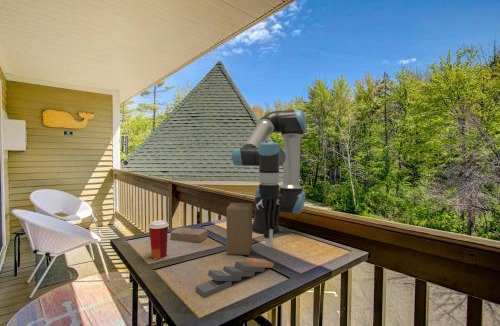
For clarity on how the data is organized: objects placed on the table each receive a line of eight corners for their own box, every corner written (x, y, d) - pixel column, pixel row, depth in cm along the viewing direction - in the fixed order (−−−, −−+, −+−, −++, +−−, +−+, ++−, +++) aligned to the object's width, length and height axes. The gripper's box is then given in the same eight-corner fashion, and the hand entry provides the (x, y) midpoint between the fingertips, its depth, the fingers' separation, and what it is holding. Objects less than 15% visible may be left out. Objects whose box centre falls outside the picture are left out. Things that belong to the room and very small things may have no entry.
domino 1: (233, 270, 90) (209, 269, 84) (241, 276, 86) (217, 275, 80) (231, 275, 90) (207, 275, 84) (240, 281, 86) (216, 281, 80)
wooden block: (252, 247, 117) (252, 202, 116) (250, 256, 107) (250, 207, 106) (230, 246, 118) (230, 202, 117) (226, 255, 108) (226, 207, 107)
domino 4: (255, 262, 96) (235, 261, 90) (265, 267, 93) (245, 266, 86) (254, 267, 96) (234, 266, 90) (263, 272, 93) (244, 271, 86)
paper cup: (167, 251, 111) (166, 219, 111) (170, 258, 105) (170, 223, 104) (147, 254, 108) (147, 221, 107) (149, 261, 101) (149, 226, 100)
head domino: (272, 267, 96) (254, 266, 89) (263, 263, 100) (244, 262, 93) (274, 263, 96) (255, 261, 90) (264, 259, 100) (246, 257, 93)
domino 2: (222, 275, 87) (195, 285, 80) (231, 281, 83) (204, 292, 76) (222, 280, 87) (195, 291, 80) (231, 286, 83) (204, 297, 76)
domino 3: (245, 266, 93) (223, 266, 87) (255, 271, 90) (233, 271, 83) (244, 271, 93) (222, 271, 87) (253, 276, 89) (231, 276, 83)
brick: (169, 240, 126) (169, 230, 126) (178, 234, 134) (178, 226, 134) (200, 244, 122) (200, 234, 121) (208, 238, 130) (208, 229, 129)
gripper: (273, 181, 104) (272, 239, 105) (249, 184, 95) (249, 247, 96) (287, 183, 99) (287, 244, 100) (264, 186, 90) (263, 253, 91)
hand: (268, 245), depth 98 cm, fingers closed
